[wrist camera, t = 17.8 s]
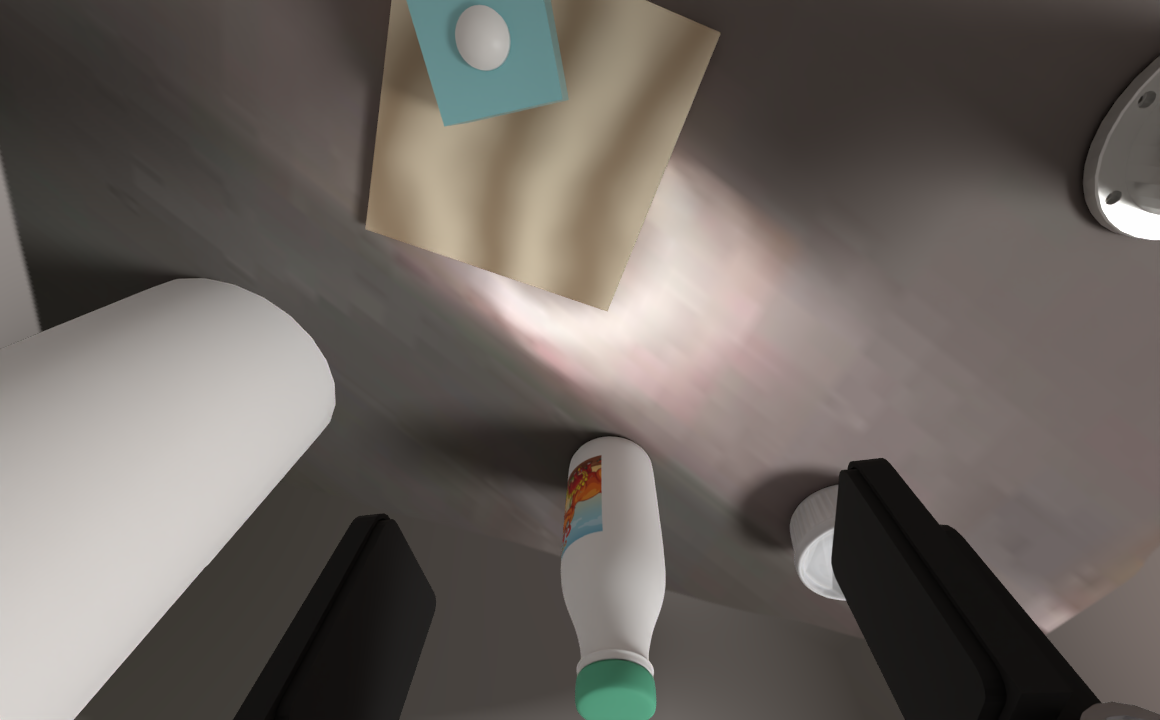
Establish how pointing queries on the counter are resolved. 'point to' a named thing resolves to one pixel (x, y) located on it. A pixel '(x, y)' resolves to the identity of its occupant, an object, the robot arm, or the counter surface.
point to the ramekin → (816, 542)
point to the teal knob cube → (489, 56)
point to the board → (541, 151)
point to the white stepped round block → (136, 471)
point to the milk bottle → (613, 576)
